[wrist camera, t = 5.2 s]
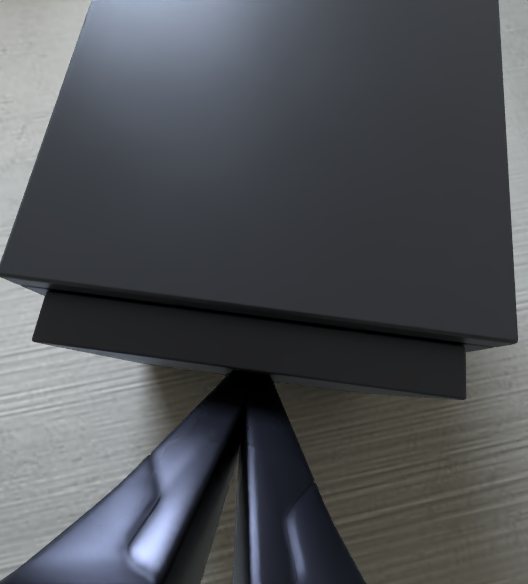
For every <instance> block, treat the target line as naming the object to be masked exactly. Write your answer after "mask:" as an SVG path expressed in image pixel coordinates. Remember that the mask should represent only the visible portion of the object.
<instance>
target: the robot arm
mask: <svg viewBox="0 0 528 584" xmlns="http://www.w3.org/2000/svg"><path fill="white" fill-rule="evenodd" d="M239 450H240V451H239ZM238 454H239V460H238V475H237V495H236V515H235V535H234V555H233V576H232V584H366V582H365V581H364V579H363V577H362V575H361V573H360V572H359V570H358V568H357V566H356V565H355V563H354V561H353V559H352V557H351V556H350V554H349V552H348V550H347V548H346V546H345V544H344V542H343V541H342V539H341V537H340V535H339V533H338V531H337V529H336V527H335V525H334V523H333V521H332V519H331V517H330V515H329V512H328V510H327V508H326V506H325V504H324V502H323V499H322V497H321V495H320V492H319V490H318V487H317V485H316V483H314V478H313V476H312V474H311V471H310V469H309V466H308V464H307V462H306V459H305V457H304V454H303V452H302V450H301V447H300V445H299V443H298V440H297V438H296V435H295V433H294V431H293V428H292V426H291V424H290V421H289V419H288V416H287V414H286V412H285V409H284V407H283V405H282V402H281V400H280V397H279V395H278V393H277V390H276V388H275V385H274V383H273V381H272V378H271V376H270V375H266V374H259V373H251V372H244V371H237V370H232V371H231V372H230V373H229V374H228V375H227V376H226V377H225V378H224V379H223V380H222V381H221V382H220V383H219V384H218V386H217V387H216V388H215V389H214V390H213V391H212V392H211V393H210V394H209V395H208V396H207V397H206V398H205V399H204V400H203V401H202V402H201V403H200V404H199V405H198V406H197V407H196V408H195V409H194V410H193V411H192V412H191V413H190V414H189V415H188V416H187V417H186V418H185V419H184V420H183V421H182V422H181V423H180V424H179V425H178V426H177V427H176V428H175V429H174V430H173V431H172V432H171V433H170V434H169V435H168V436H167V437H166V438H165V439H164V440H163V441H162V442H161V443H160V444H159V445H158V446H157V447H156V448H155V449H154V450H153V451H152V453H151V455H148V456H147V457H146V458H145V459H144V460H143V461H142V462H141V463H140V464H139V465H138V467H137V468H136V469H134V470H133V471H132V472H131V473H130V474H129V475H128V476H127V477H126V478H125V479H124V480H123V481H122V482H121V483H120V484H119V485H118V486H117V487H116V488H114V489H113V490H112V491H111V492H110V493H109V494H107V495H106V496H105V497H104V498H103V499H102V500H101V501H99V502H98V503H97V504H96V505H95V506H94V507H92V508H91V509H90V510H89V511H88V512H86V513H85V514H84V515H83V516H81V517H80V518H79V519H78V520H77V521H75V522H74V523H73V524H72V525H71V526H69V527H68V528H67V529H66V530H65V531H63V532H62V533H61V534H60V535H58V536H57V537H56V538H55V539H54V540H52V541H51V542H50V543H49V544H48V545H46V546H45V547H44V548H43V549H41V550H40V551H39V552H38V553H37V554H35V555H34V556H33V557H32V558H31V559H29V560H28V561H27V562H26V563H24V564H23V565H22V566H21V567H19V568H18V569H17V570H15V571H14V572H13V573H11V574H10V575H8V576H7V577H5V578H4V579H3V580H1V581H0V584H200V583H201V580H202V576H203V573H204V570H205V566H206V563H207V560H208V556H209V553H210V550H211V546H212V543H213V540H214V536H215V533H216V530H217V526H218V523H219V520H220V516H221V513H222V510H223V506H224V503H225V500H226V496H227V493H228V490H229V487H230V483H231V480H232V477H233V473H234V470H235V466H236V463H237V459H238Z"/></svg>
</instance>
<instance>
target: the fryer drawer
mask: <svg viewBox="0 0 528 584" xmlns="http://www.w3.org/2000/svg"><path fill="white" fill-rule="evenodd" d="M158 304H160V305H153V304H146V303H138V302H130V301H123V300H115V299H108V298H100V297H92V296H85V295H77V294H70V293H62V292H54V291H47V292H46V295H45V298H44V301H43V305H42V308H41V311H40V314H39V318H38V321H37V324H36V328H35V331H34V334H33V337H32V341H33V342H37V343H42V344H47V345H52V346H57V347H62V348H67V349H72V350H77V351H82V352H87V353H92V354H97V355H102V356H107V357H112V358H118V359H123V360H128V361H133V362H138V363H143V364H150V365H157V366H165V367H172V368H179V369H187V370H194V371H201V372H209V373H216V374H224V375H225V377H226V376H227V375H228V374H229V373H230V372H231V371H232V370H237V371H244V372H251V373H259V374H266V375H270V376H271V378H272V381H273V383H274V381H275V382H282V383H290V384H297V385H305V386H312V387H319V388H327V389H334V390H341V391H349V392H356V393H363V394H378V395H393V396H409V397H424V398H439V399H455V400H465V399H466V353H465V346H463V345H458V344H450V343H442V342H435V341H427V340H420V339H412V338H404V337H397V336H389V335H382V334H374V333H366V332H362V331H364V330H362V329H355V328H347V327H340V326H332V325H324V324H317V323H309V322H301V321H294V320H286V319H279V318H271V317H263V316H256V315H248V314H240V313H233V312H225V311H218V310H210V309H202V308H195V307H187V306H179V305H172V304H164V303H158Z"/></svg>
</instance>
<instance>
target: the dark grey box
mask: <svg viewBox="0 0 528 584" xmlns="http://www.w3.org/2000/svg"><path fill="white" fill-rule="evenodd" d="M0 277H1V278H4V279H6V280H9V281H11V282H13V283H16V284H19V285H21V286H23V287H25V288H28V289H30V290H32V291H35V292H37V293H39V294H42V295H44V296H45V295H46V292H47V291H54V292H62V293H70V294H77V295H85V296H92V297H100V298H108V299H115V300H123V301H130V302H138V303H146V304H153V305H160V304H158V303H164V304H172V305H179V306H187V307H195V308H202V309H210V310H218V311H225V312H233V313H240V314H248V315H256V316H263V317H271V318H279V319H286V320H294V321H301V322H309V323H317V324H324V325H332V326H340V327H347V328H355V329H362V330H364V331H362V332H366V333H374V334H382V335H389V336H397V337H404V338H412V339H420V340H427V341H435V342H442V343H450V344H458V345H463V346H465V352H470V351H476V350H482V349H488V348H493V347H500V346H506V345H512V344H516V343H517V341H518V331H517V314H516V297H515V279H514V262H513V245H512V227H511V210H510V193H509V175H508V158H507V141H506V123H505V106H504V89H503V71H502V54H501V37H500V19H499V2H498V0H92V1H91V4H90V7H89V9H88V12H87V15H86V18H85V21H84V24H83V27H82V30H81V32H80V35H79V38H78V41H77V44H76V47H75V50H74V53H73V55H72V58H71V61H70V64H69V67H68V70H67V73H66V76H65V78H64V81H63V84H62V87H61V90H60V93H59V96H58V99H57V101H56V104H55V107H54V110H53V113H52V116H51V119H50V122H49V124H48V127H47V130H46V133H45V136H44V139H43V142H42V145H41V147H40V150H39V153H38V156H37V159H36V162H35V165H34V168H33V170H32V173H31V176H30V179H29V182H28V185H27V188H26V191H25V193H24V196H23V199H22V202H21V205H20V208H19V211H18V214H17V216H16V219H15V222H14V225H13V228H12V231H11V234H10V237H9V239H8V242H7V245H6V248H5V251H4V254H3V257H2V260H1V262H0Z"/></svg>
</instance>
